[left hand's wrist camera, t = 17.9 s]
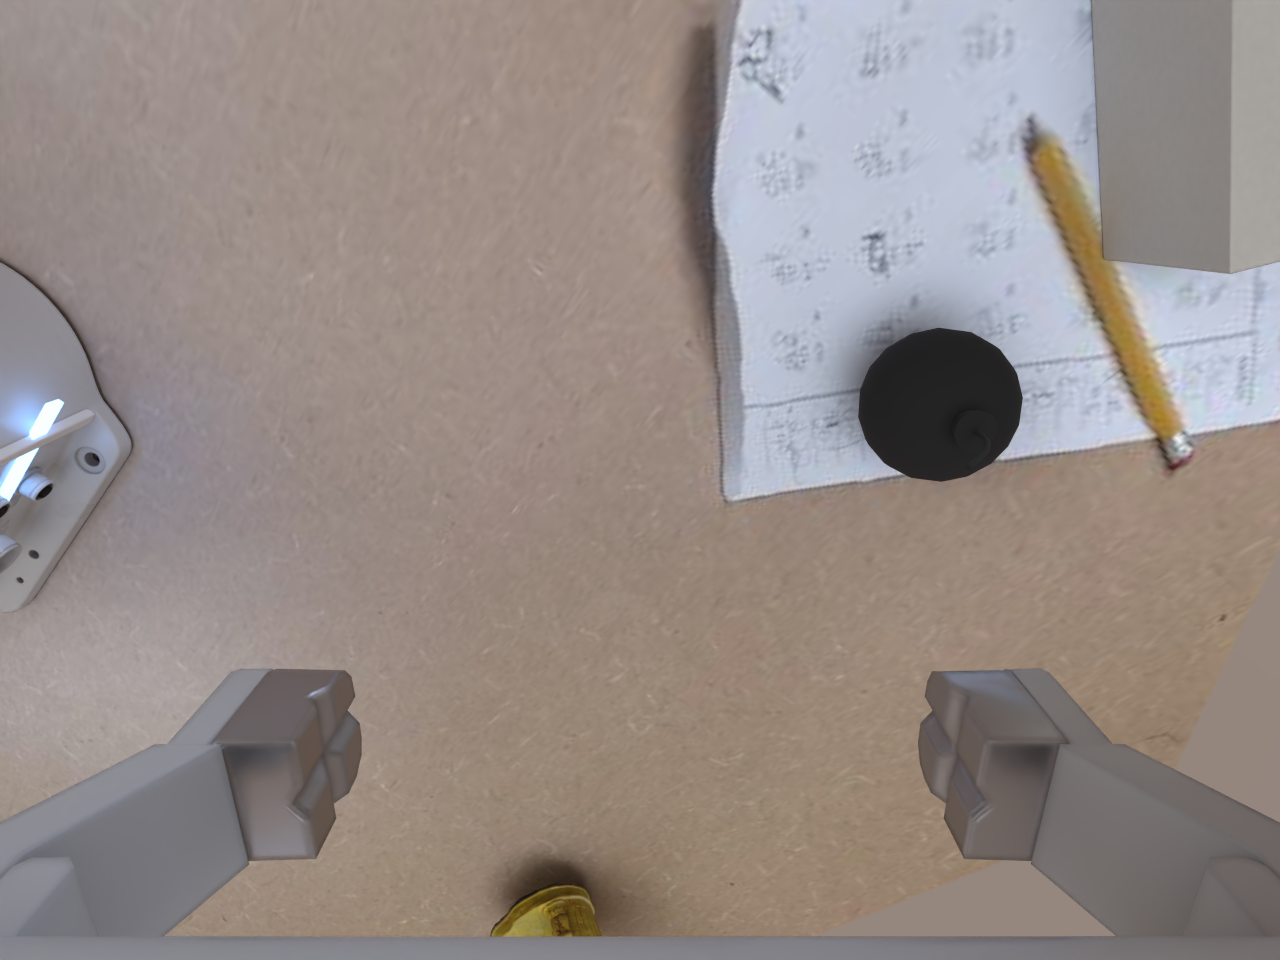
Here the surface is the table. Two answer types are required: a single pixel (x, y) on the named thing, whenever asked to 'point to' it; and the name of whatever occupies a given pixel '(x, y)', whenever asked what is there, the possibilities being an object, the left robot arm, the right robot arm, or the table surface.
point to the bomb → (940, 404)
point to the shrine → (550, 914)
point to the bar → (1189, 131)
